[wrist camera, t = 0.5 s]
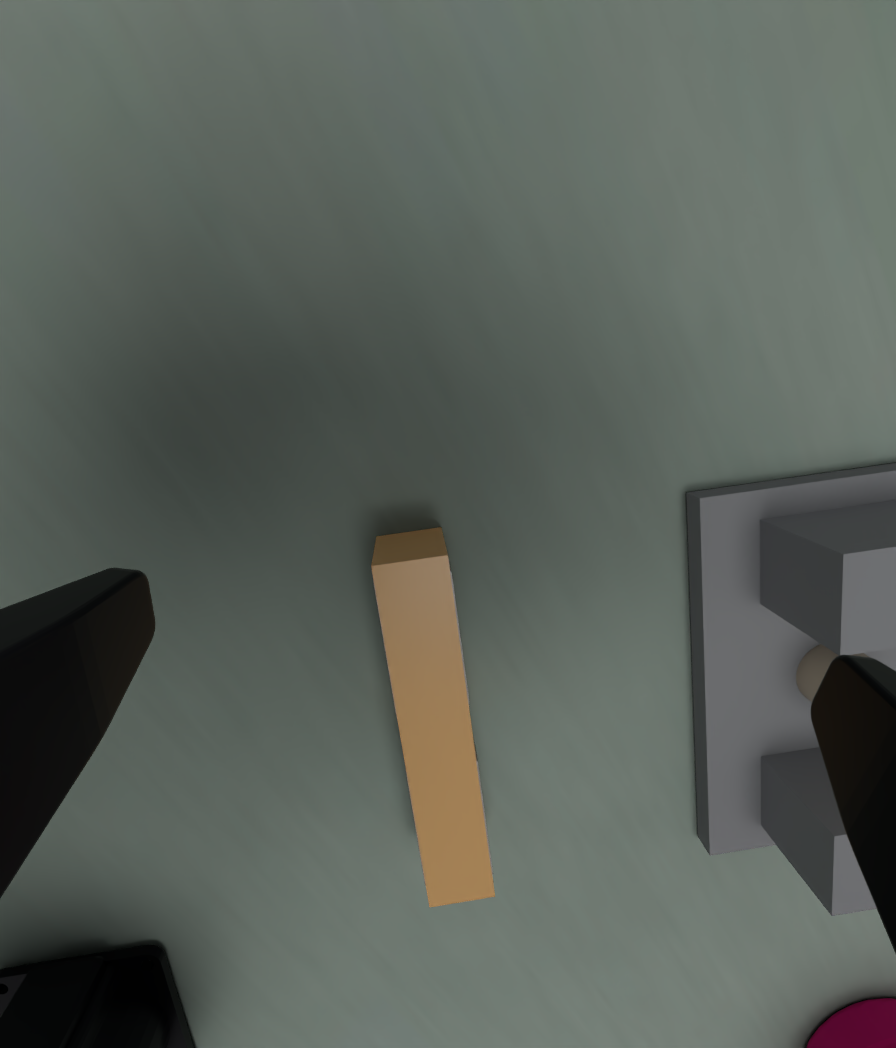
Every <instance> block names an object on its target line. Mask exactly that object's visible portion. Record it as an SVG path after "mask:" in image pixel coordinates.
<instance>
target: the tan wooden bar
mask: <svg viewBox="0 0 896 1048" xmlns="http://www.w3.org/2000/svg"><path fill="white" fill-rule="evenodd" d="M371 568H372V574H373V580H374V582H373V584H374V589H375V595H376V601H377V607H378V613H379V618H380V624H381V630H382V636H383V642H384V648H385V653H386V659H387V665H388V671H389V677H390V683H391V688H392V694H393V700H394V706H395V712H396V716H397V720H398V726H399V731H400V737H401V743H402V749H403V755H404V761H405V766H406V776H407V782H408V787H409V793H410V799H411V805H412V811H413V816H414V822H415V828H416V834H417V840H418V846H419V851H420V857H421V863H422V869H423V875H424V881H425V886H426V889H427V895H428V901H429V906H430V907H435V906H441V905H447V904H453V903H459V902H465V901H471V900H477V899H483V898H489V897H495V892H494V885H493V878H492V874H493V869H492V862H491V854H490V847H489V840H488V833H487V825H486V818H485V811H484V804H483V796H482V789H481V782H480V774H479V767H478V760H477V755H476V749H475V744H474V739H473V733H472V726H471V719H470V712H469V705H470V702H469V695H468V687H467V680H466V673H465V665H464V658H463V651H462V644H461V636H460V629H459V622H458V615H457V607H456V600H455V593H454V586H453V578H452V571H451V567H450V563H449V558H448V554H447V549H446V545H445V541H444V536H443V532H442V528H441V527H438V528H431V529H424V530H417V531H411V532H404V533H397V534H390V535H383V536H376V542H375V547H374V553H373V559H372V565H371Z"/></svg>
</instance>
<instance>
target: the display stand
mask: <svg viewBox="0 0 896 1048" xmlns="http://www.w3.org/2000/svg"><path fill="white" fill-rule="evenodd" d="M686 499H687V529H688V559H689V589H690V619H691V649H692V678H693V708H694V738H695V768H696V798H697V828H698V837H699V839H700V841H701V842H702V844H703V845H704V847H705V849H706V850H707V852H708V853H709V855H716V854H722V853H728V852H735V851H741V850H747V849H753V848H759V847H766V846H772V845H777V846H778V848H779V849H780V850H781V852H782V853H783V854H784V855H785V857H786V858H787V859H788V861H789V862H790V863H791V864H792V866H793V867H794V868H795V869H796V871H797V872H798V873H799V875H800V876H801V877H802V878H803V880H804V881H805V882H806V884H807V885H808V886H809V887H810V889H811V890H812V891H813V892H814V894H815V895H816V896H817V898H818V899H819V900H820V901H821V903H822V904H823V905H824V907H825V908H826V909H827V910H828V912H829V913H830V914H831V916H835V915H841V914H847V913H853V912H859V911H865V910H871V909H877V908H876V905H875V903H874V901H873V898H872V896H871V893H870V891H869V889H868V886H867V884H866V881H865V879H864V877H863V874H862V872H861V869H860V867H859V865H858V862H857V860H856V858H855V855H854V853H853V850H852V847H851V845H850V842H849V840H848V837H847V834H846V832H845V829H844V826H843V823H842V820H841V817H840V814H839V810H838V807H837V804H836V801H835V797H834V794H833V791H832V787H831V784H830V781H829V777H828V774H827V771H826V767H825V764H824V761H823V758H822V754H821V751H820V748H819V744H818V741H817V738H816V734H815V731H814V728H813V725H812V721H811V704H812V701H813V698H814V696H815V694H816V692H817V690H818V688H819V686H820V684H821V682H822V680H823V678H824V676H825V674H826V672H827V669H828V667H829V665H830V663H831V662H832V660H833V659H834V658H836V657H837V656H839V655H853V656H861V657H870V658H873V659H876V660H878V661H880V662H882V663H883V664H885V665H887V666H888V667H890V668H892V669H893V670H895V671H896V463H891V464H884V465H877V466H870V467H863V468H856V469H849V470H842V471H834V472H827V473H820V474H813V475H806V476H799V477H792V478H785V479H778V480H771V481H764V482H757V483H750V484H743V485H736V486H729V487H722V488H715V489H708V490H701V491H694V492H687V493H686Z"/></svg>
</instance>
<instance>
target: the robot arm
mask: <svg viewBox="0 0 896 1048" xmlns="http://www.w3.org/2000/svg"><path fill="white" fill-rule="evenodd" d="M154 631H155V617H154V611H153V605H152V599H151V593H150V588H149V582H148V579H147V577H146V575H145V574H144V573H143V572H141V571H139V570H131V569H122V568H109V569H106V570H103V571H101V572H98V573H95V574H93V575H90V576H87V577H85V578H82V579H79V580H77V581H74V582H71V583H69V584H66V585H64V586H61V587H58V588H56V589H53V590H50V591H48V592H45V593H42V594H40V595H37V596H34V597H32V598H29V599H26V600H24V601H21V602H18V603H16V604H13V605H10V606H8V607H5V608H3V609H0V898H1V897H2V895H3V893H4V892H5V890H6V889H7V887H8V886H9V884H10V883H11V881H12V879H13V878H14V876H15V875H16V873H17V872H18V870H19V868H20V867H21V865H22V864H23V862H24V861H25V859H26V857H27V856H28V854H29V853H30V851H31V850H32V848H33V846H34V845H35V843H36V842H37V840H38V839H39V837H40V836H41V834H42V832H43V831H44V829H45V828H46V826H47V825H48V823H49V821H50V820H51V818H52V817H53V815H54V814H55V812H56V810H57V809H58V807H59V806H60V804H61V803H62V801H63V800H64V798H65V796H66V795H67V793H68V792H69V790H70V789H71V787H72V785H73V784H74V782H75V781H76V779H77V778H78V776H79V774H80V773H81V771H82V770H83V768H84V767H85V765H86V764H87V762H88V760H89V759H90V757H91V756H92V754H93V752H94V751H95V749H96V747H97V746H98V744H99V743H100V741H101V739H102V737H103V736H104V734H105V732H106V730H107V728H108V726H109V725H110V723H111V721H112V719H113V717H114V715H115V713H116V711H117V709H118V707H119V705H120V703H121V701H122V699H123V697H124V695H125V693H126V691H127V689H128V687H129V685H130V683H131V681H132V679H133V677H134V675H135V673H136V671H137V669H138V667H139V665H140V663H141V661H142V659H143V657H144V655H145V653H146V651H147V649H148V647H149V645H150V643H151V640H152V638H153V635H154ZM811 721H812V725H813V728H814V731H815V734H816V738H817V741H818V744H819V748H820V751H821V754H822V758H823V761H824V764H825V767H826V771H827V774H828V777H829V781H830V784H831V787H832V791H833V794H834V797H835V801H836V804H837V807H838V810H839V814H840V817H841V820H842V823H843V826H844V829H845V832H846V834H847V837H848V840H849V842H850V845H851V847H852V850H853V853H854V855H855V858H856V860H857V862H858V865H859V867H860V869H861V872H862V874H863V877H864V879H865V881H866V884H867V886H868V889H869V891H870V893H871V896H872V898H873V901H874V903H875V905H876V908H877V910H878V913H879V915H880V917H881V920H882V922H883V925H884V927H885V929H886V932H887V934H888V936H889V939H890V941H891V944H892V946H893V948H894V951H895V953H896V671H895V670H893V669H892V668H890V667H888V666H887V665H885V664H883V663H882V662H880V661H878V660H876V659H873V658H870V657H861V656H853V655H839V656H837V657H836V658H834V659H833V660H832V662H831V663H830V665H829V667H828V669H827V672H826V674H825V676H824V678H823V680H822V682H821V684H820V686H819V688H818V690H817V692H816V694H815V696H814V698H813V701H812V704H811ZM150 960H151V961H150ZM0 1048H194V1047H193V1043H192V1040H191V1037H190V1034H189V1030H188V1027H187V1024H186V1021H185V1017H184V1014H183V1011H182V1007H181V1004H180V1001H179V998H178V994H177V991H176V988H175V985H174V981H173V978H172V975H171V972H170V968H169V965H168V962H167V959H166V955H165V953H164V951H163V949H161V948H160V947H158V946H155V945H146V946H140V947H134V948H128V949H122V950H115V951H109V952H103V953H97V954H91V955H85V956H78V957H72V958H66V959H60V960H54V961H48V962H41V963H35V964H29V965H23V966H17V967H10V968H4V969H1V970H0Z"/></svg>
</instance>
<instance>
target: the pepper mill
mask: <svg viewBox="0 0 896 1048" xmlns="http://www.w3.org/2000/svg"><path fill="white" fill-rule="evenodd" d="M807 1048H896V999H891V998H882V999H871V1000H865V1001H862V1002H858V1003H855V1004H853V1005H850V1006H848V1007H846V1008H844V1009H842V1010H840V1011H838V1012H836V1013H835V1014H834V1015H832V1016H831V1017H830V1018H829V1019H828V1020H826V1021H825V1022H824V1023H823V1024H822V1025H821V1026H820V1027H819V1028H818V1029H817V1030H816V1032H815V1033H814V1034H813V1036H812V1037H811V1039H810V1040H809V1042H808V1045H807Z"/></svg>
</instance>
